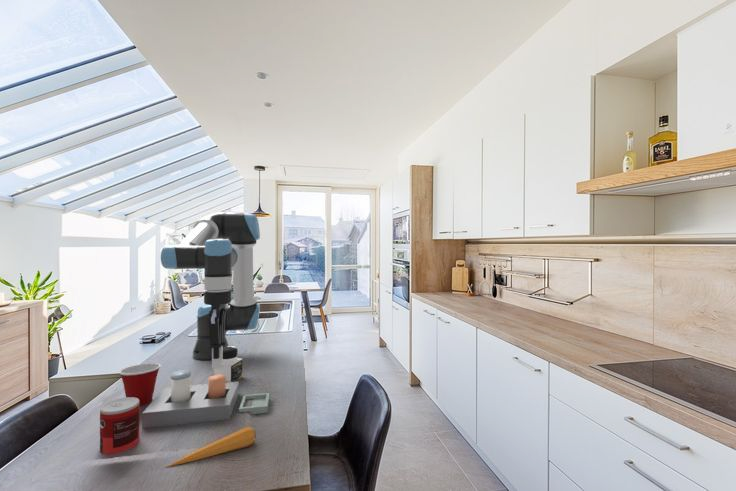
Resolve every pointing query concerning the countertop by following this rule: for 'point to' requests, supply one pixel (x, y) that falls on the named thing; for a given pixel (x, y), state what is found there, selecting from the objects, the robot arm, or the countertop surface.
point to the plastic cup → (140, 381)
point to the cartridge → (180, 386)
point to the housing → (190, 407)
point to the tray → (255, 403)
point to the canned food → (119, 425)
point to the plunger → (217, 386)
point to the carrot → (222, 446)
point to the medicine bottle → (230, 364)
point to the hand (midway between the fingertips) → (217, 367)
